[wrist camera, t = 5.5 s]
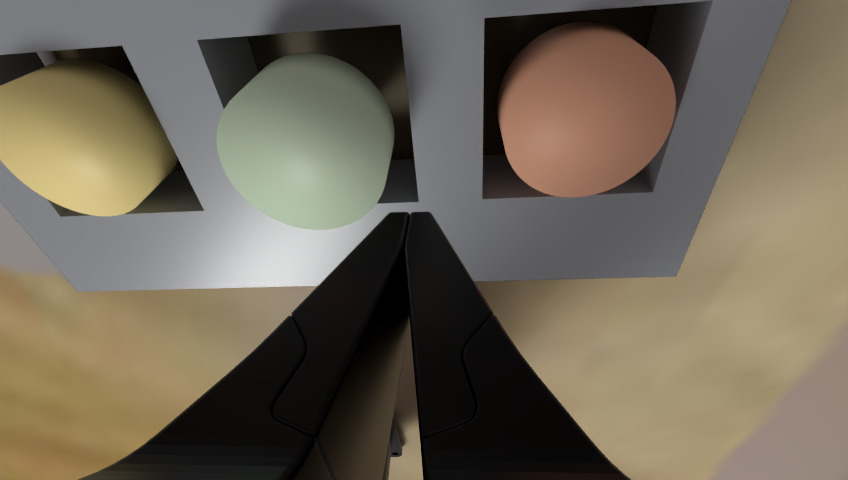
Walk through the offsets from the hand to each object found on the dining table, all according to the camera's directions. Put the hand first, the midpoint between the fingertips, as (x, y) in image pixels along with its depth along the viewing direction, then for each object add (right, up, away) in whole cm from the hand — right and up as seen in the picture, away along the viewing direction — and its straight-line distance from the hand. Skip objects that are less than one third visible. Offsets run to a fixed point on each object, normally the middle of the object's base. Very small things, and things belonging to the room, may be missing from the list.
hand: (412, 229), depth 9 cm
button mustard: (-10, +4, +6) cm, 13 cm away
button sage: (-3, +4, +5) cm, 7 cm away
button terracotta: (+5, +5, +5) cm, 9 cm away
